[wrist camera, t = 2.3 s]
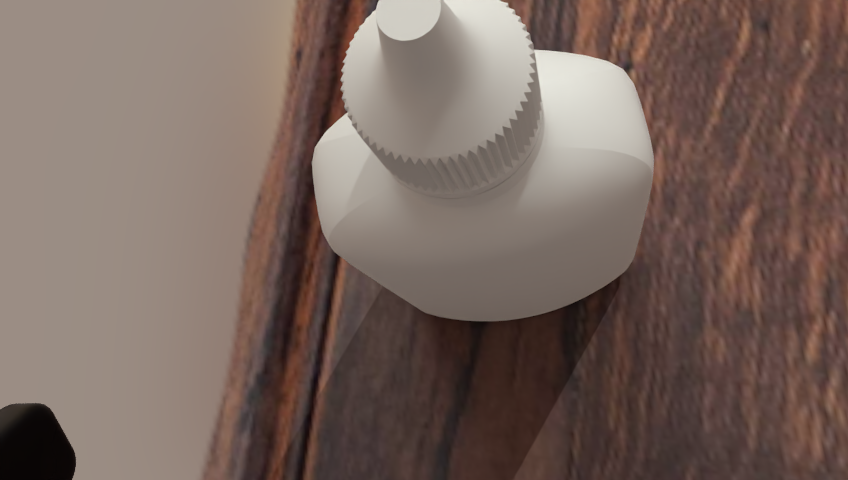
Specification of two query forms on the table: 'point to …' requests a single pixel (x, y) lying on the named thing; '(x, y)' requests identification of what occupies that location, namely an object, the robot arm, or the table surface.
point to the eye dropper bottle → (481, 163)
